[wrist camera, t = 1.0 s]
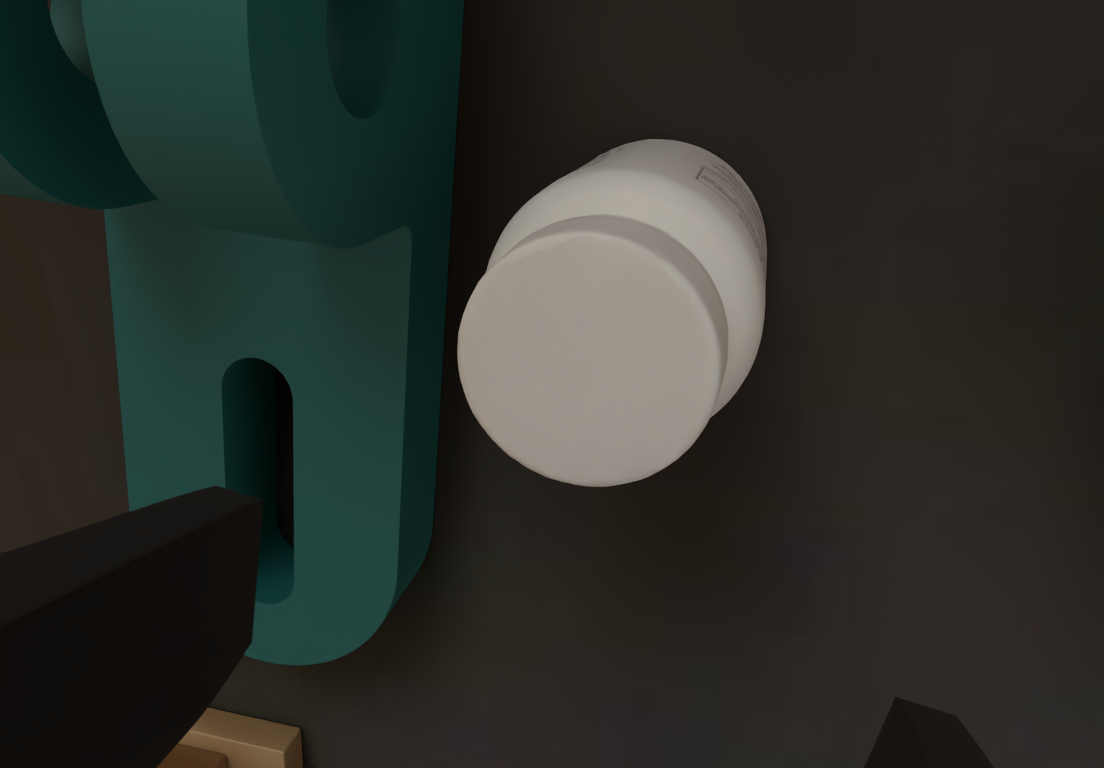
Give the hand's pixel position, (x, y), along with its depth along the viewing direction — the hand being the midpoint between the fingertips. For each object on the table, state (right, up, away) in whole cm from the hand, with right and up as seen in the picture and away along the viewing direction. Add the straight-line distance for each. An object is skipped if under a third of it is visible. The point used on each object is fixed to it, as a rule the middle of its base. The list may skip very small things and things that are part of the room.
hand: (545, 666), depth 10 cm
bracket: (-5, +6, +11) cm, 13 cm away
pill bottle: (+2, +6, +9) cm, 11 cm away
